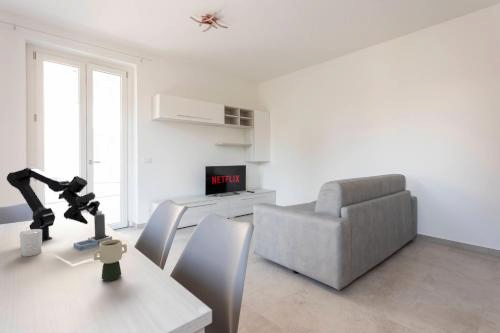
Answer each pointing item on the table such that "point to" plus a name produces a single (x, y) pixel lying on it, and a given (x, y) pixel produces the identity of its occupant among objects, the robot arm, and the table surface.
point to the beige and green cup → (110, 258)
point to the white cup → (31, 242)
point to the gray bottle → (99, 225)
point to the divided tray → (91, 242)
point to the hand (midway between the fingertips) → (94, 221)
